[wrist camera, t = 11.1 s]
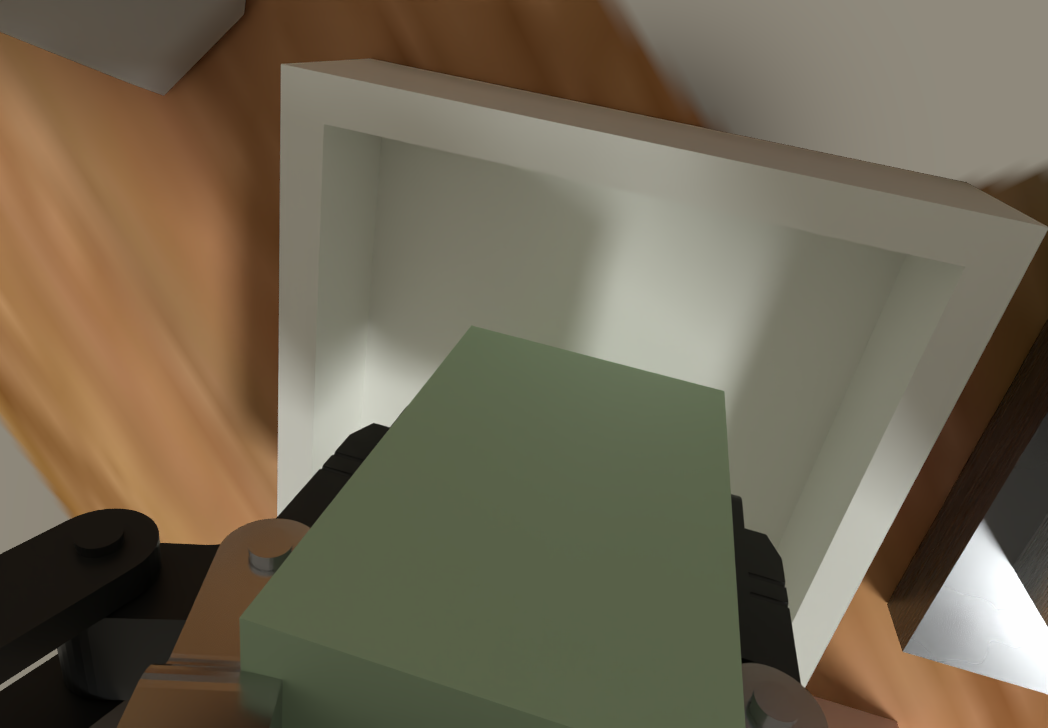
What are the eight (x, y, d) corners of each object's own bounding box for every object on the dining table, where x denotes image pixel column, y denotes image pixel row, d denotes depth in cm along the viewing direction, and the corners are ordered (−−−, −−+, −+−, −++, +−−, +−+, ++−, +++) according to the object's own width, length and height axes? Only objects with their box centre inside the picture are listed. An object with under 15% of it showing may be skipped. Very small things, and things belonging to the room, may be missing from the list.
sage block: (655, 584, 14) (617, 1030, 8) (441, 521, 14) (245, 887, 8) (724, 390, 12) (748, 785, 6) (471, 325, 12) (239, 617, 6)
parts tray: (760, 630, 18) (772, 749, 15) (342, 506, 20) (276, 591, 17) (966, 182, 13) (1049, 227, 10) (369, 58, 15) (280, 63, 11)
